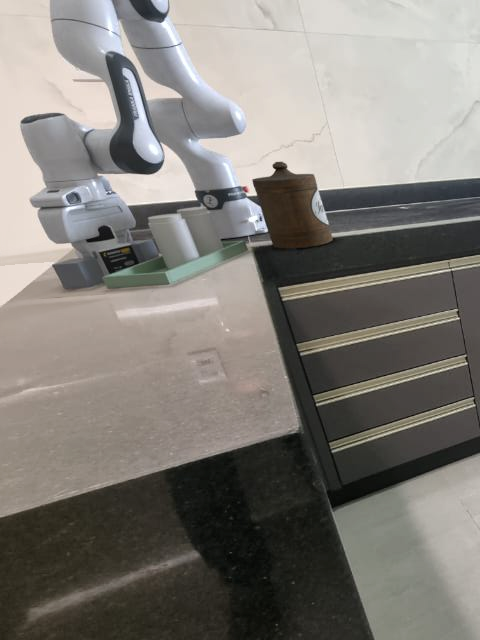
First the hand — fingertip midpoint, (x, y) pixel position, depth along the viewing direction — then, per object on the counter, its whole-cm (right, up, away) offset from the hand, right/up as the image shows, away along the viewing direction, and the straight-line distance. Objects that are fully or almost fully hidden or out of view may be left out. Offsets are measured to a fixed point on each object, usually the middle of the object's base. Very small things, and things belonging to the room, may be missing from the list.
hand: (108, 255), depth 123 cm
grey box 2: (-1, -1, +11) cm, 11 cm away
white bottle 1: (+13, -2, +6) cm, 15 cm away
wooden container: (+28, +9, +27) cm, 40 cm away
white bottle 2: (+12, +3, +15) cm, 19 cm away
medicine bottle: (0, -5, +2) cm, 5 cm away
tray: (+13, -2, +6) cm, 15 cm away
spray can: (-37, +11, +39) cm, 55 cm away
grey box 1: (+1, -8, -5) cm, 10 cm away
